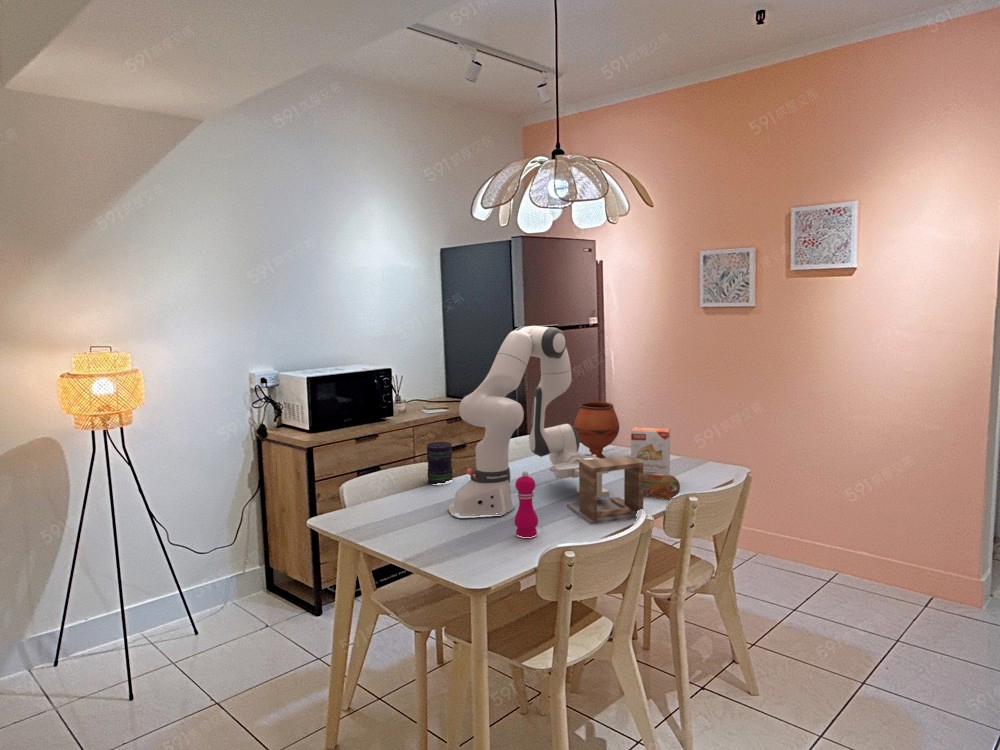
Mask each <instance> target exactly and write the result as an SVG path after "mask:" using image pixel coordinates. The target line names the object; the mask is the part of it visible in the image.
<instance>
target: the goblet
mask: <svg viewBox="0 0 1000 750" xmlns="http://www.w3.org/2000/svg"><path fill="white" fill-rule="evenodd" d="M578 407H579V408H578V411H577V415H576V417H575V421H574V425H573V427H574V428H575V429H576V431H577V432H578V435H579V441H580V444H582V445H583V446H585V447H586V448H588V449H589V452H590V454H592V455H596V457H597V458H606V456H605V455H604V454H603V453H602V452H603V451H604V448H606V447H608V446H609V445H610V444H612V443H613V442H614V441H615V440H616V439H617V437H618V436H619V433H620V421H619V418H618V416H617V413H616V410H615V409H614V405H613V403H612V402H607V401H597V400H596V401H587V402H583V403H580V404H579V406H578Z"/></svg>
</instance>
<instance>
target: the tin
mask: <svg viewBox="0 0 1000 750" xmlns="http://www.w3.org/2000/svg"><path fill="white" fill-rule="evenodd" d="M680 484H681V483H680V482H679V480H678V479H677V478H676V477H675V476H673V475H671V474H670V475H662V474H652V473H647V474H644V475H643V497H644V498H650V497H654V498H653V499H659V498H664V499H663V500H671V499H670V498H672V497H674V496H676V495H677V496H678V494H679V493H680V491H681V485H680ZM677 496H676V497H677ZM655 497H656V498H655Z"/></svg>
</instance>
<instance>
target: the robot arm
mask: <svg viewBox="0 0 1000 750" xmlns="http://www.w3.org/2000/svg"><path fill="white" fill-rule="evenodd" d="M530 357H533V358H534V357H535V358H539V359H540V374H541V375H540V381H539V383H538V385H537V387H536V388H534V391H533V395H532V404H531V405H532V407H531V408H532V409H531V424H530V432H529V437H528V438H529V439H528V445H529V449H530V450H531V453H533V454H534V455H535V456H538V457H542V458H543V457H544V456H548V457H549V461H550V463H551V464H552V466H550V467H549V471H550V472H553V476H554V477H555V478H557V479H567V478H568V479H569V478H573V479H575V478H576V479H577V478H579V461H582V460H583V458H590V457H591V458H593V459H600V458H597V457H596V455H592V454H591V453H590V454H587V453H586V454H585V453H580V452H579V448H580V444H581V442H580V441H579V435H578V432H577V431H576V429H575V428H574V425H572V424H570V423H563V424H558V425H555V426H550V427H545V417H546V408H547V407H548V405H549V404H550V403H551V402H552V401H553V400H555V399H556V398H558V397H559V396H561V395H563V394H564V393H566V392H567V390H568V389H570V385H571V384H572V368H571V362H570V361H571V360H570V356H569V352H568V349H567V338H566V336H565V333H564V332H563V331H562V330H561V329H559V328H557V327H552V326H551V327H549V326H548V327H547V326H542V325H529V326H527V325H523V326H519V327H517V328H515V329H514V330H512V331H511V332H509V333H508V334H507V336H506V337H505V339H504V340H503V342H502V343H501V345H500V348H499V349H498V351H497V353H496V356H495V358H494V361H493V363H492V366H490V367H491V368H490V370H489V372H488V373H487V375H486V376H485V378H484V380H483V381H482V382H481V383H480V384H479V385H478V387H477V388H476V389H475V390H473V392H471V393H469V394H467V395H465V396H464V397H463V398H462V399H461V401H460V403H459V405H458V406H459V408H458V411H459V412H458V413H459V416H460V418H461V419H462V421H463V422H465V423H467V424H469V425H472V426H476V427H481V428H485V433H484V436H483V439H482V440H480V441H478V442H477V444H476V445H475V448H474V449H475V468H474V469H472V468H470V467H469V468H467V470H466V474H467V475H468V476H470V480H468V482H466V483H465V484H464V485H463V486H461V487H460V488H459V489H457V491H456V493H455V496H454V502H453V503H451V504H452V505H450V504H449V505H448V507H447V509H448V508H449V511H451V513H453V514H454V515H455V513H459V515H460V516H480V515H503V514H505V513H506V512H508V511H510V510H512V509H513V508H514V509H515V504H514V502H513V497H512V494H511V486H510V485H511V469H510V467H509V445H510V441H511V438H512V436H513V434H514V432H515V431H516V430H517V429H519V427H520V426H521V425H522V423H523V421H524V415H525V413H524V408H523V406H522V404H521V403H519V402H518V401H516V400H514V399H511V398H510V397H506V396H508V395H509V394H510V393H511V392H513V391H515V390H516V389H518V387H519V386H520V384H521V383H522V382H521V381H522V378H523V376H524V374H525V371H526V369H527V367H528V363H529V362H530V361H529V360H530V359H531V358H530ZM609 472H610V471H605V472H602V475H603V474H605V475H606V474H608V473H609ZM449 506H454V507H449ZM514 509H513V510H514ZM513 510H512V511H513ZM510 512H511V511H510ZM496 513H498V514H496ZM508 513H509V512H508ZM473 514H474V515H473ZM506 514H507V513H506ZM506 514H505V515H506Z"/></svg>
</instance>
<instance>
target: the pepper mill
mask: <svg viewBox="0 0 1000 750" xmlns="http://www.w3.org/2000/svg"><path fill="white" fill-rule="evenodd" d="M521 475H522V476H519V478H517V479H516V481H515V489H516V490H517V494H516V495H517V496H516V497H517V498H518V501H519V502H518V504H519V505H518V508H517V511H516V513H515V515H514V521H513V522H514V525H515V527H516V530H515V535H516V534H517V535H519V536H522V537H532V536H535V535H536V534H537V535H538V533H537V532H538V531H537V528H536V527H537V526H538V525H539V519H538V514H537V513H536V511H535V509H534V505H533V499H534V496H535V495H534V494H535V492H534V491H535V488H536V482H535V479H534V478H533V477H532V476H530V475H529V473H528V472H527V471H526V470H525V471H523V472H522V474H521Z"/></svg>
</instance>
